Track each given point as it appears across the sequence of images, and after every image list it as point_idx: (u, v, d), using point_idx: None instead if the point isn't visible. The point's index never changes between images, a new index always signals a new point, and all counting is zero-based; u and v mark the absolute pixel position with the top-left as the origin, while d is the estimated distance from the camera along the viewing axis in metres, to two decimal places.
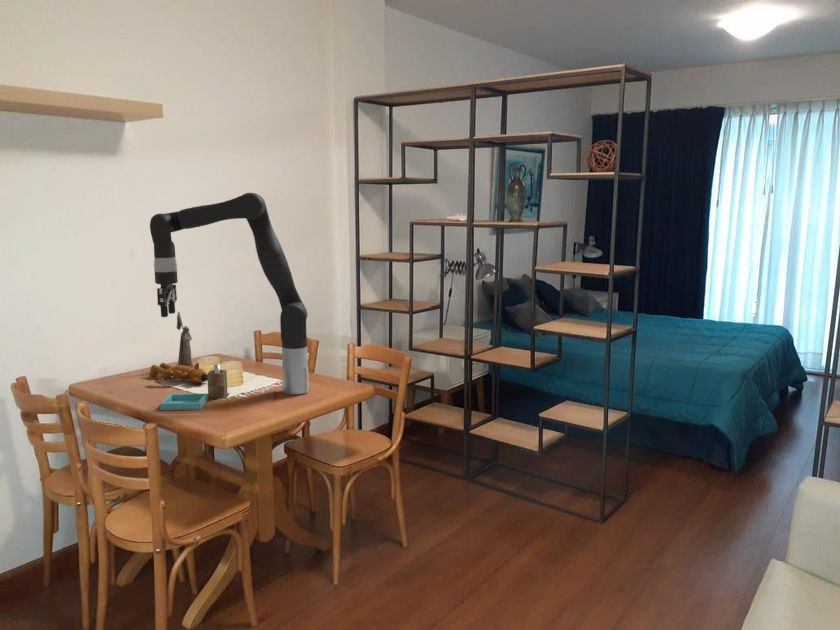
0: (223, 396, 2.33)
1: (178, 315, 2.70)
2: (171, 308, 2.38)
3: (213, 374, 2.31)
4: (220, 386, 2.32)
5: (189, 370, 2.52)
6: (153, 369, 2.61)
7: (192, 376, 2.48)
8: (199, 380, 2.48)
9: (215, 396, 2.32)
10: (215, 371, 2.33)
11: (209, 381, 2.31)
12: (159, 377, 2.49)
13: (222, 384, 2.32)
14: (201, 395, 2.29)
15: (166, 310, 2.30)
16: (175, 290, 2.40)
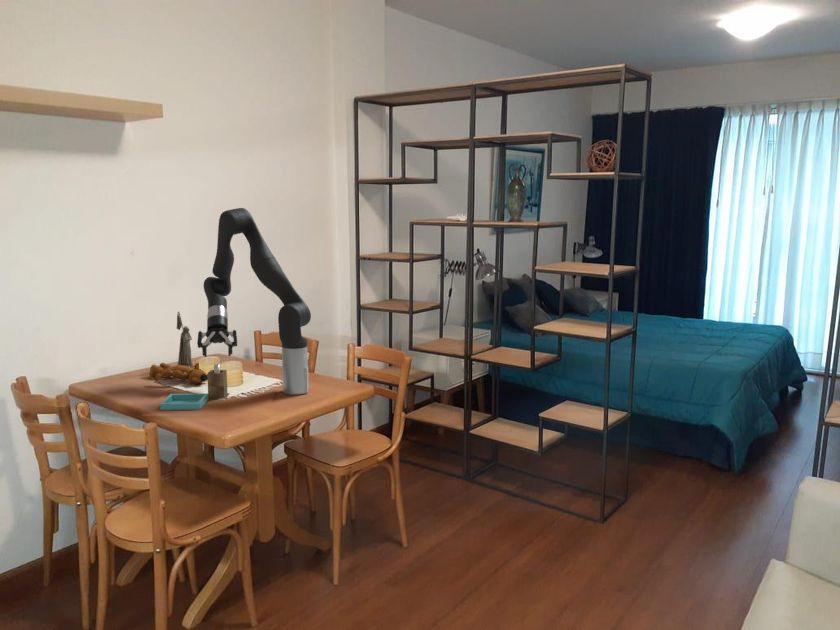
0: (223, 396, 2.33)
1: (178, 315, 2.70)
2: (228, 350, 2.44)
3: (213, 374, 2.31)
4: (220, 386, 2.32)
5: (188, 370, 2.52)
6: (153, 369, 2.61)
7: (191, 376, 2.49)
8: (198, 380, 2.48)
9: (215, 396, 2.32)
10: (215, 371, 2.33)
11: (209, 381, 2.31)
12: (158, 377, 2.49)
13: (222, 384, 2.32)
14: (201, 395, 2.29)
15: (204, 349, 2.41)
16: (233, 334, 2.47)
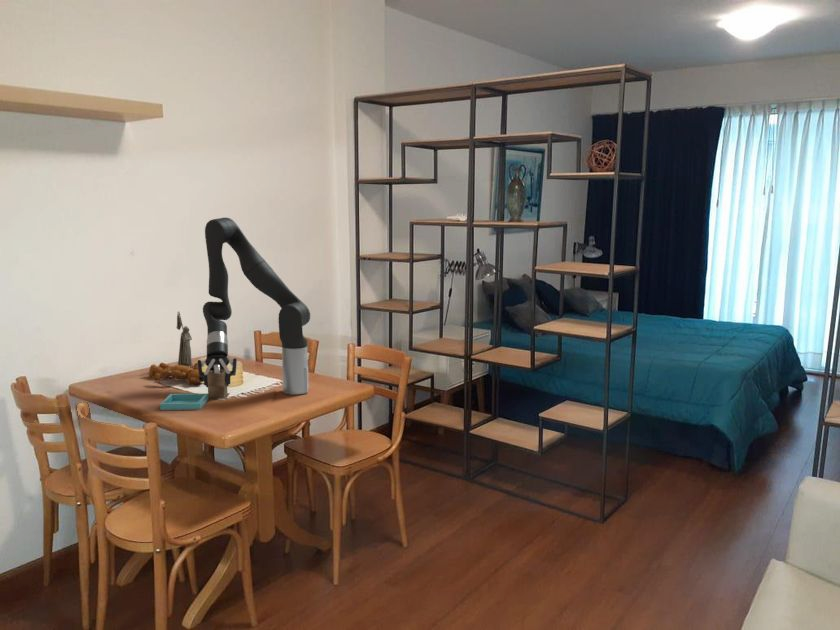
0: (223, 396, 2.33)
1: (178, 315, 2.70)
2: (226, 380, 2.35)
3: (213, 374, 2.31)
4: (220, 386, 2.32)
5: (187, 370, 2.52)
6: (152, 369, 2.61)
7: (190, 376, 2.48)
8: (197, 380, 2.48)
9: (215, 396, 2.32)
10: (215, 371, 2.33)
11: (209, 381, 2.31)
12: (157, 377, 2.49)
13: (222, 384, 2.32)
14: (201, 395, 2.29)
15: (205, 379, 2.32)
16: (233, 363, 2.38)
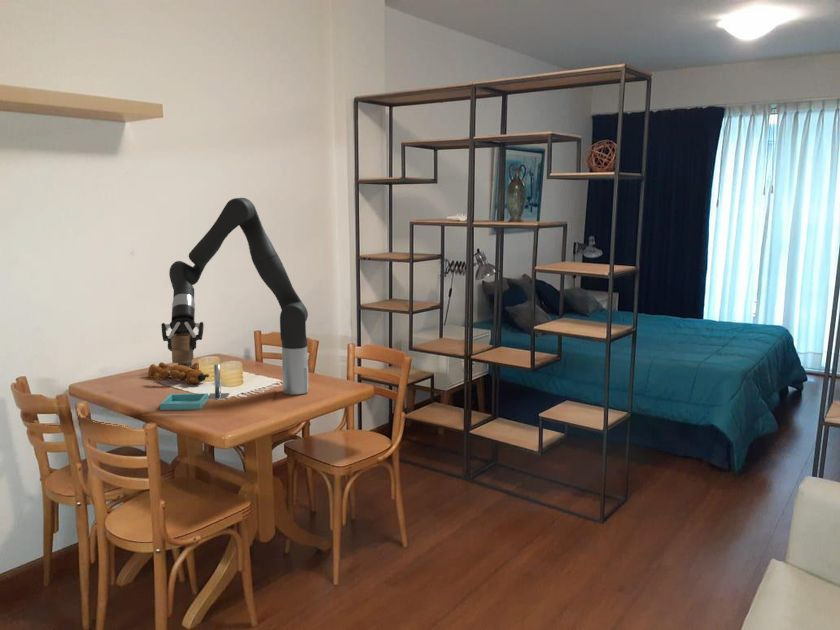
0: (188, 361, 2.20)
1: None
2: None
3: (177, 337, 2.18)
4: (185, 350, 2.19)
5: (186, 370, 2.52)
6: (151, 369, 2.61)
7: (189, 376, 2.48)
8: (196, 380, 2.48)
9: (179, 361, 2.19)
10: (215, 371, 2.33)
11: (173, 344, 2.18)
12: (156, 377, 2.49)
13: (187, 348, 2.19)
14: (201, 395, 2.29)
15: (169, 342, 2.19)
16: (199, 326, 2.25)
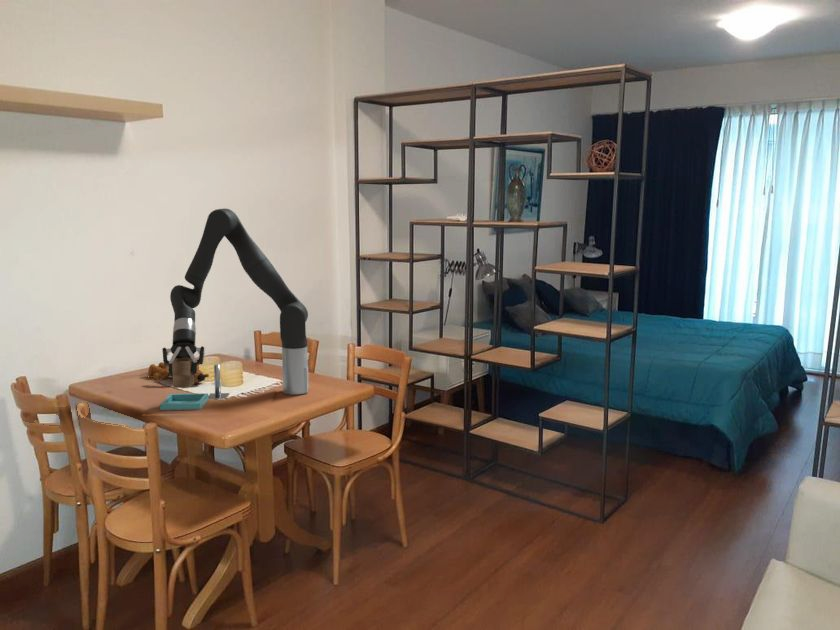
0: (189, 386, 2.21)
1: None
2: None
3: (178, 362, 2.19)
4: (186, 375, 2.20)
5: None
6: (151, 368, 2.62)
7: None
8: (196, 380, 2.48)
9: (180, 386, 2.21)
10: (215, 371, 2.33)
11: (174, 369, 2.19)
12: (156, 377, 2.49)
13: (188, 373, 2.20)
14: (201, 395, 2.29)
15: (170, 367, 2.21)
16: (200, 351, 2.26)
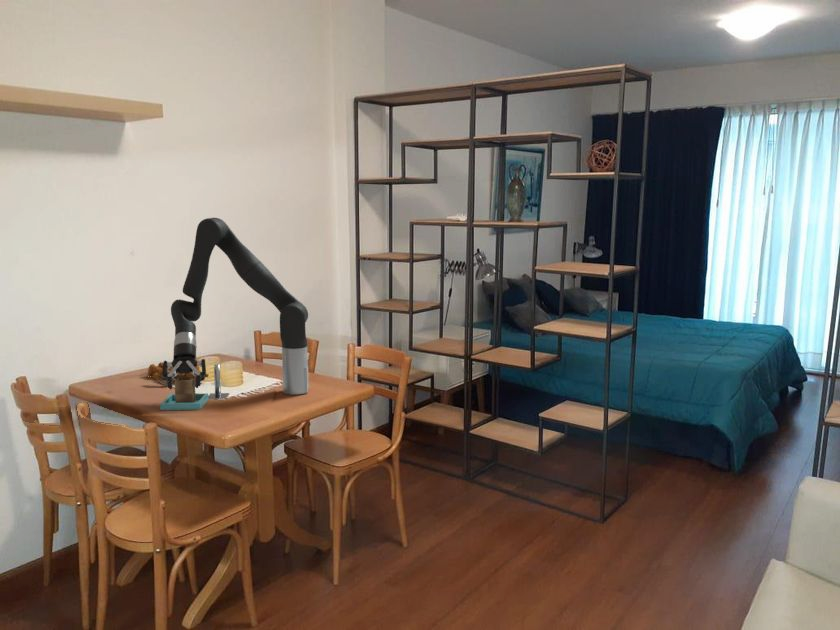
0: None
1: None
2: (196, 381, 2.24)
3: (181, 381, 2.20)
4: (188, 394, 2.21)
5: None
6: (151, 368, 2.62)
7: (188, 376, 2.49)
8: (195, 380, 2.48)
9: None
10: (215, 371, 2.33)
11: (176, 388, 2.21)
12: (156, 377, 2.50)
13: (190, 392, 2.21)
14: (201, 395, 2.29)
15: (169, 380, 2.22)
16: (202, 364, 2.27)
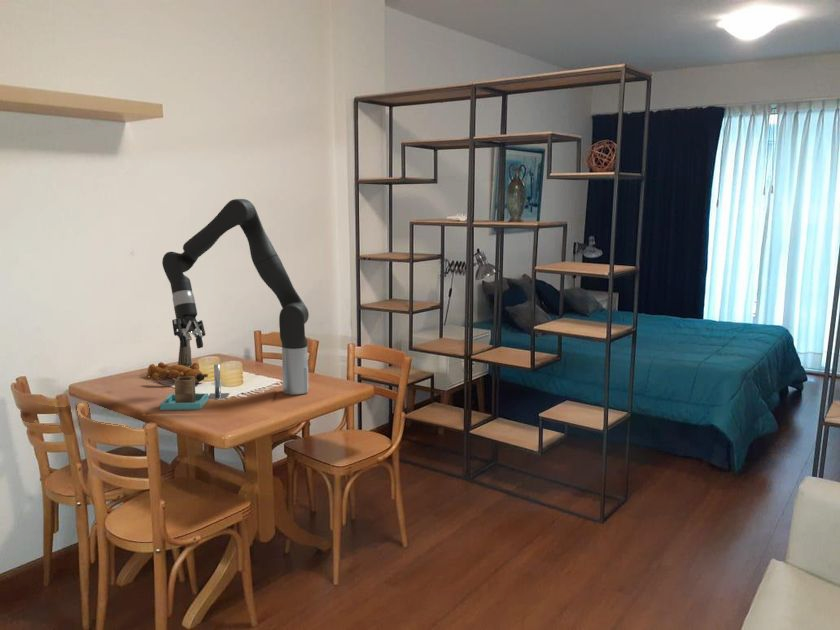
0: None
1: None
2: (199, 342, 2.40)
3: (181, 381, 2.20)
4: (188, 394, 2.21)
5: (185, 370, 2.52)
6: (151, 368, 2.62)
7: (188, 376, 2.49)
8: (195, 380, 2.49)
9: None
10: (215, 371, 2.33)
11: (176, 388, 2.21)
12: (155, 377, 2.50)
13: (190, 392, 2.21)
14: (201, 395, 2.29)
15: (184, 340, 2.32)
16: (201, 325, 2.43)
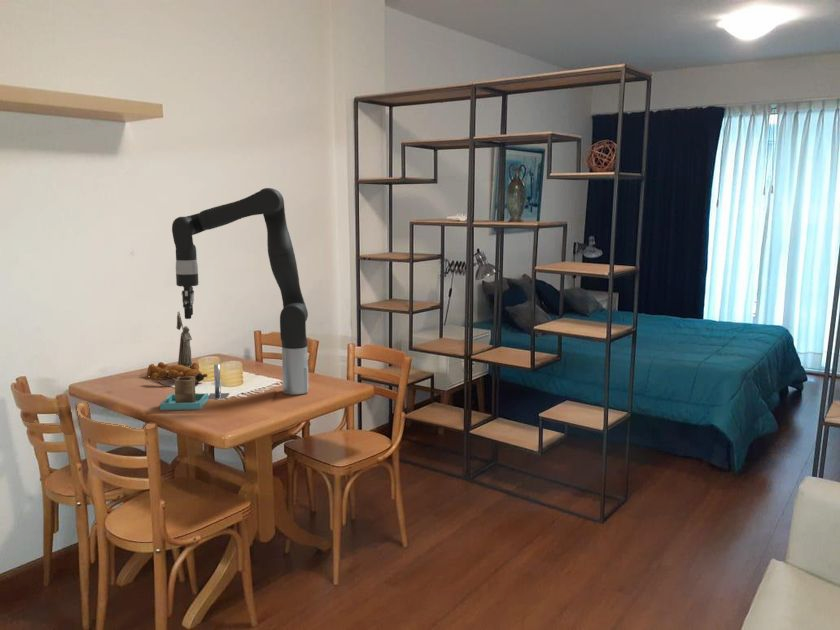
0: None
1: (178, 315, 2.70)
2: None
3: (181, 381, 2.20)
4: (188, 394, 2.21)
5: (185, 370, 2.52)
6: (150, 368, 2.62)
7: (187, 376, 2.49)
8: None
9: None
10: (215, 371, 2.33)
11: (176, 388, 2.21)
12: (155, 376, 2.50)
13: (190, 392, 2.21)
14: (201, 395, 2.29)
15: (190, 312, 2.33)
16: None
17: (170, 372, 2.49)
